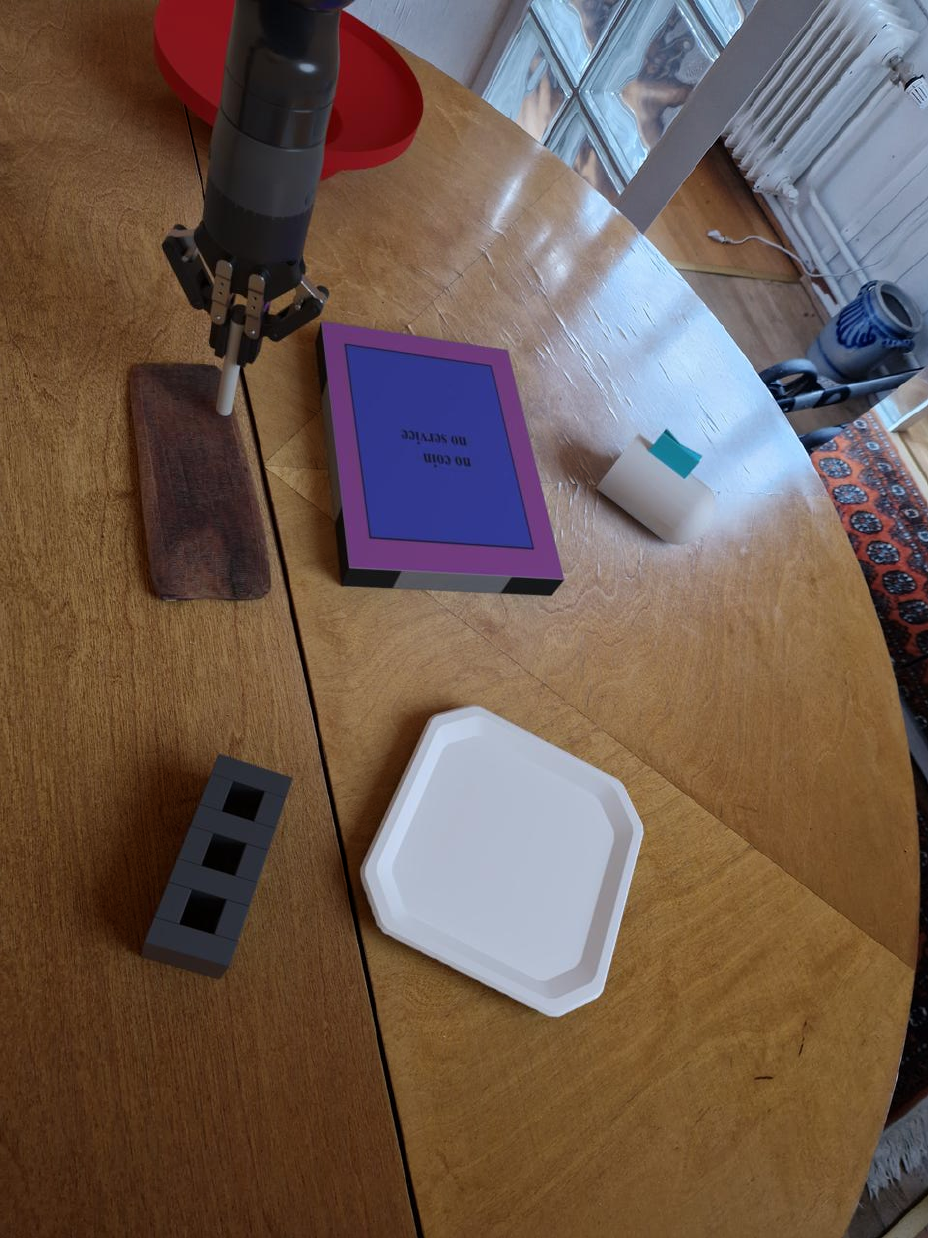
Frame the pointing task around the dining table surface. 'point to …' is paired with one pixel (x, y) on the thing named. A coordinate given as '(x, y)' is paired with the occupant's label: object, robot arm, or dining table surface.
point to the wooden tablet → (196, 488)
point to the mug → (661, 488)
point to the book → (431, 466)
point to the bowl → (365, 95)
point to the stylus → (231, 361)
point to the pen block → (210, 886)
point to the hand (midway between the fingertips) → (232, 355)
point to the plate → (505, 860)
